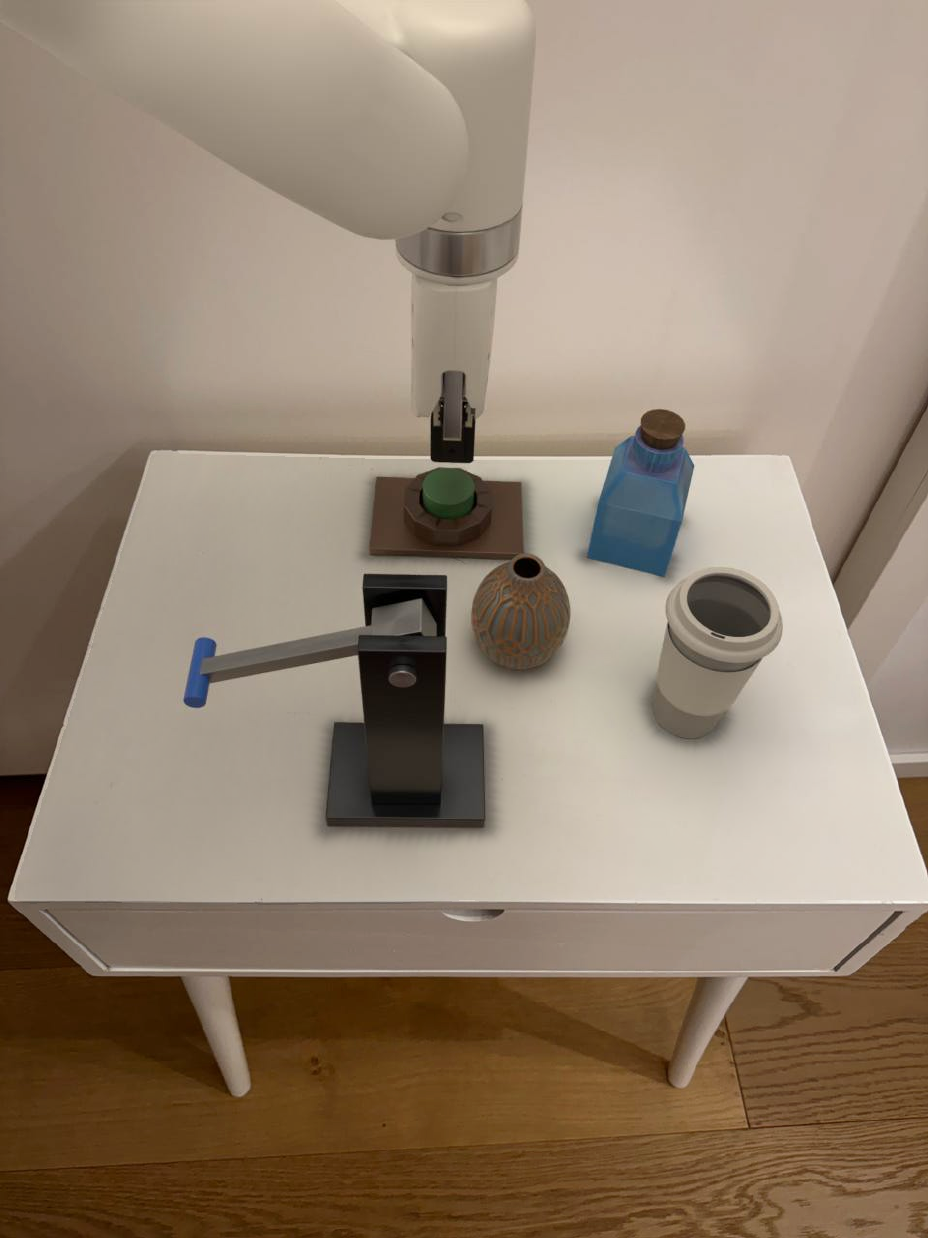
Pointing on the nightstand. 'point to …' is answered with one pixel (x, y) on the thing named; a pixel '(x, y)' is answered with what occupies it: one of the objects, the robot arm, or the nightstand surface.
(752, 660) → the cup
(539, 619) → the vase
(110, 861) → the nightstand surface
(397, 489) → the button block
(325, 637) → the light lever
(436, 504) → the light button
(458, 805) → the switch bracket
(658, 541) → the perfume bottle
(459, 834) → the nightstand surface
